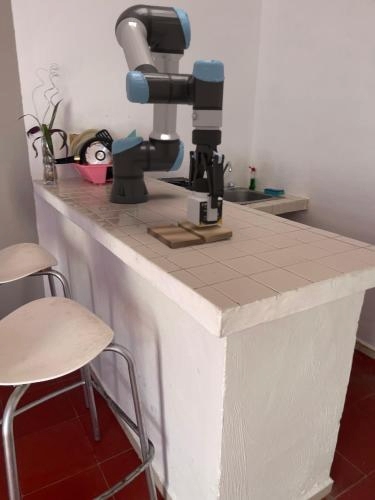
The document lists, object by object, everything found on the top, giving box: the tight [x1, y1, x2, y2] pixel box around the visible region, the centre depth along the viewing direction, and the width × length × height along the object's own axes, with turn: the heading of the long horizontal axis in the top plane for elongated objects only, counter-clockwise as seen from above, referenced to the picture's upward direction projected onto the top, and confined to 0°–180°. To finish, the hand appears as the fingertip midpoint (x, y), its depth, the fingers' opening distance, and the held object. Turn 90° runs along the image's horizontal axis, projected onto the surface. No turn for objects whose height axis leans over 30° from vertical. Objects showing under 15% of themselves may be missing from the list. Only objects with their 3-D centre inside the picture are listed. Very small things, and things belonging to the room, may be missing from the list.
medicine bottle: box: [186, 177, 224, 227], centre depth 100 cm, size 7×7×12 cm
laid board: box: [146, 223, 206, 250], centre depth 99 cm, size 16×9×2 cm, turn 28°
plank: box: [177, 220, 233, 244], centre depth 103 cm, size 16×8×2 cm, turn 28°
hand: (204, 216), depth 102 cm, fingers closed on medicine bottle, 7 cm apart
